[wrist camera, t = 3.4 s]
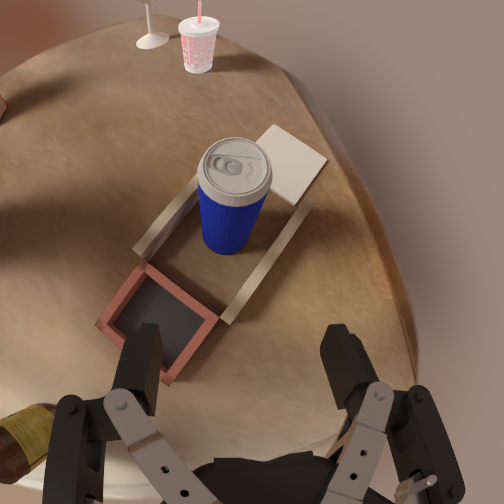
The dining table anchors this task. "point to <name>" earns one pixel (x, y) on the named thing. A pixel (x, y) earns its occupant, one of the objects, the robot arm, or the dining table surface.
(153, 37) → the champagne flute
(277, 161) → the mat
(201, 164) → the beverage can
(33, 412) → the sauce bottle
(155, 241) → the channel
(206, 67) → the beverage cup
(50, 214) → the dining table surface
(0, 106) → the cracker box
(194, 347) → the box
